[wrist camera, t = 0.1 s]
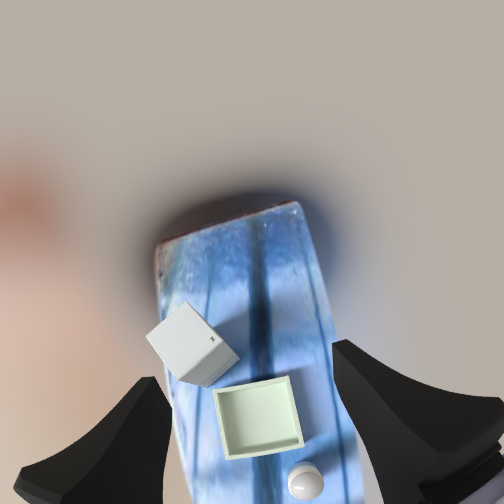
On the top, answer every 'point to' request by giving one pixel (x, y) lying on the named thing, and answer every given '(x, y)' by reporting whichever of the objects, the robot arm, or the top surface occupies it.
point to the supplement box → (191, 347)
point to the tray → (258, 418)
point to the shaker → (305, 480)
